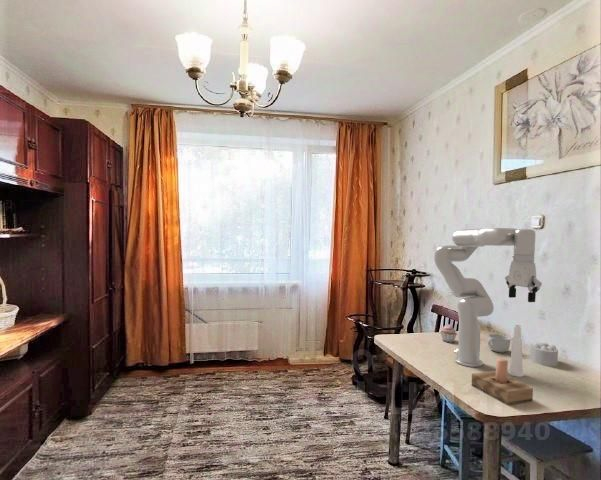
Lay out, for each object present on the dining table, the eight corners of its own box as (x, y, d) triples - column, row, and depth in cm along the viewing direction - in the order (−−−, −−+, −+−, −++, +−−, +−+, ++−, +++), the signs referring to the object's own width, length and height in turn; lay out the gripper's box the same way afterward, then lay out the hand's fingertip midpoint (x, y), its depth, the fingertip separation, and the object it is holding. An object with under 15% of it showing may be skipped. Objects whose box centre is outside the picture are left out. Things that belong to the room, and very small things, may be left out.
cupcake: (436, 338, 225) (437, 321, 225) (451, 338, 226) (452, 321, 226) (444, 343, 216) (444, 325, 215) (460, 343, 217) (460, 325, 216)
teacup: (498, 347, 211) (498, 332, 211) (514, 353, 201) (515, 338, 201) (478, 349, 207) (478, 334, 207) (494, 355, 196) (494, 340, 196)
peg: (492, 389, 152) (493, 359, 151) (500, 387, 153) (501, 358, 152) (500, 393, 148) (502, 362, 147) (509, 392, 149) (510, 361, 149)
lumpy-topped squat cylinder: (549, 358, 194) (550, 341, 193) (562, 367, 181) (563, 349, 180) (527, 357, 195) (527, 340, 195) (539, 366, 182) (539, 348, 182)
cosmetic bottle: (509, 370, 175) (511, 323, 174) (524, 374, 171) (526, 325, 171) (506, 374, 170) (508, 325, 170) (522, 378, 166) (524, 327, 166)
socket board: (471, 385, 157) (471, 373, 157) (494, 382, 161) (495, 370, 161) (507, 405, 140) (508, 391, 140) (532, 401, 144) (533, 388, 143)
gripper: (500, 256, 166) (498, 296, 167) (534, 260, 149) (532, 304, 150) (514, 256, 168) (512, 295, 169) (549, 260, 151) (547, 303, 152)
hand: (521, 299), depth 159 cm, fingers open, 9 cm apart
